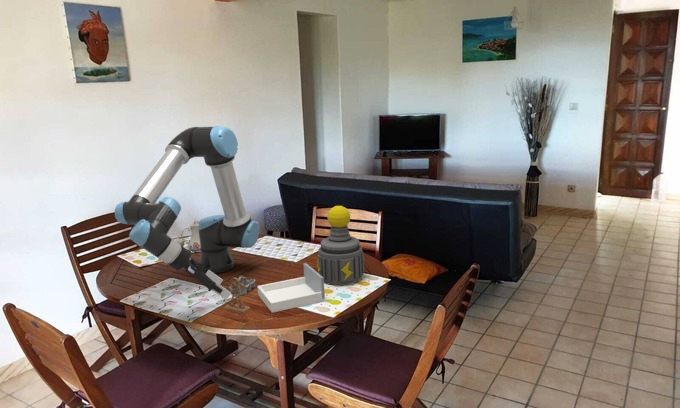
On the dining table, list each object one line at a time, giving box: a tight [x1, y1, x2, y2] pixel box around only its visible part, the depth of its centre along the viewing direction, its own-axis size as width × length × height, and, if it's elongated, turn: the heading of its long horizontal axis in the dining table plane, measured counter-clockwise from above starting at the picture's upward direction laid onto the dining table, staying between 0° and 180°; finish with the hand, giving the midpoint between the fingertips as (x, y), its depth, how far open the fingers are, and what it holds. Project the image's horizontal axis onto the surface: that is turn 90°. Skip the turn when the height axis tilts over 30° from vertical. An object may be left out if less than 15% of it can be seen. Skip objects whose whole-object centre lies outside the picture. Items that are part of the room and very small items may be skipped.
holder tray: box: [256, 262, 326, 313], centre depth 184 cm, size 18×20×9 cm
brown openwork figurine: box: [223, 277, 251, 314], centre depth 176 cm, size 9×4×12 cm, turn 62°
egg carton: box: [228, 275, 257, 296], centre depth 195 cm, size 11×8×4 cm
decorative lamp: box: [316, 205, 365, 286], centre depth 200 cm, size 19×19×30 cm
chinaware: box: [173, 218, 201, 252], centre depth 248 cm, size 28×17×17 cm, turn 129°
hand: (224, 289), depth 173 cm, fingers open, 13 cm apart
